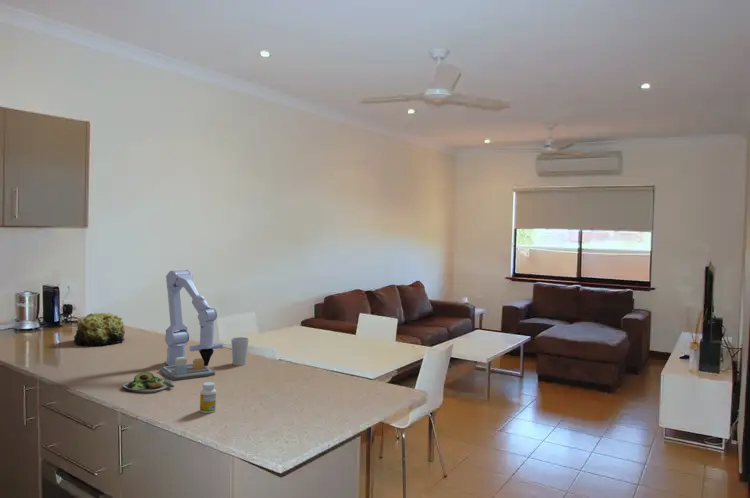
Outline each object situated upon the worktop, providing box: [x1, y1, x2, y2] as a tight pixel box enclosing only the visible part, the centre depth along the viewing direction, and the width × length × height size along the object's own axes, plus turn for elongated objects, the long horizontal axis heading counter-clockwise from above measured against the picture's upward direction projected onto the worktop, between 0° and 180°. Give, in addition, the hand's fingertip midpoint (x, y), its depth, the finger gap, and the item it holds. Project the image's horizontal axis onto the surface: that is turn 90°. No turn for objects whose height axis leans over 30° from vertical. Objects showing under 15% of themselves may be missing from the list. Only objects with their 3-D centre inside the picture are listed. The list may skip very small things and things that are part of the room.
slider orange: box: [192, 357, 204, 369], centre depth 248 cm, size 3×4×5 cm
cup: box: [231, 336, 250, 366], centre depth 267 cm, size 8×8×12 cm
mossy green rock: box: [73, 312, 126, 348], centre depth 301 cm, size 25×24×16 cm
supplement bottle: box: [199, 381, 217, 414], centre depth 197 cm, size 5×5×10 cm
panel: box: [158, 363, 216, 382], centre depth 246 cm, size 18×19×2 cm
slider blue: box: [175, 364, 187, 375], centre depth 238 cm, size 3×4×5 cm
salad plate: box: [121, 371, 175, 394], centre depth 223 cm, size 19×18×5 cm
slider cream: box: [175, 356, 188, 366], centre depth 249 cm, size 3×4×5 cm
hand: (205, 365), depth 250 cm, fingers closed
